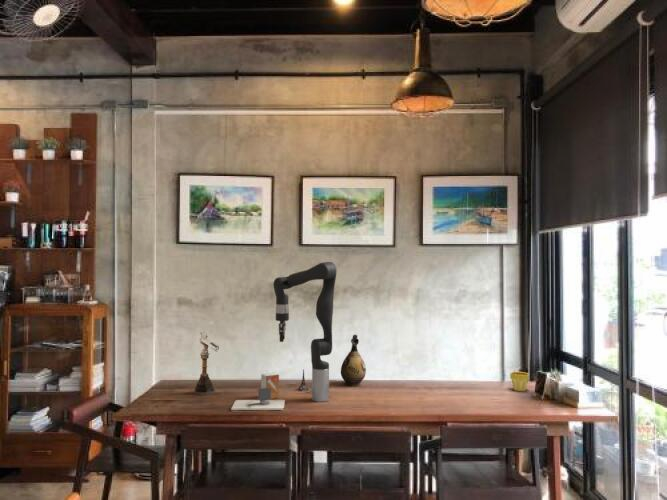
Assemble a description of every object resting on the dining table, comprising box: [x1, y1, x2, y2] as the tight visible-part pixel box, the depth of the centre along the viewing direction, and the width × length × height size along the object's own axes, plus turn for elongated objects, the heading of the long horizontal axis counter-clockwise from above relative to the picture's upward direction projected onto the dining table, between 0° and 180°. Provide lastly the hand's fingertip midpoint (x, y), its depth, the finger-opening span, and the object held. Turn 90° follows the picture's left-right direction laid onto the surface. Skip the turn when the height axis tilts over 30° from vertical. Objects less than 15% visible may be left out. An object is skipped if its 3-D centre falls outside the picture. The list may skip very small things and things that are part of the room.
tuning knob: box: [248, 387, 272, 406], centre depth 288 cm, size 12×5×8 cm, turn 119°
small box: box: [260, 372, 280, 400], centre depth 309 cm, size 8×6×13 cm
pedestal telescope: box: [193, 332, 220, 396], centre depth 320 cm, size 17×13×35 cm
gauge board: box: [230, 399, 286, 411], centre depth 290 cm, size 26×16×2 cm, turn 91°
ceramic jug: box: [340, 334, 367, 387], centre depth 342 cm, size 17×15×30 cm
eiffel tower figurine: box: [297, 367, 312, 394], centre depth 326 cm, size 15×10×13 cm
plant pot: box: [509, 371, 530, 392], centre depth 328 cm, size 10×10×10 cm
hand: (282, 340), depth 318 cm, fingers open, 8 cm apart
